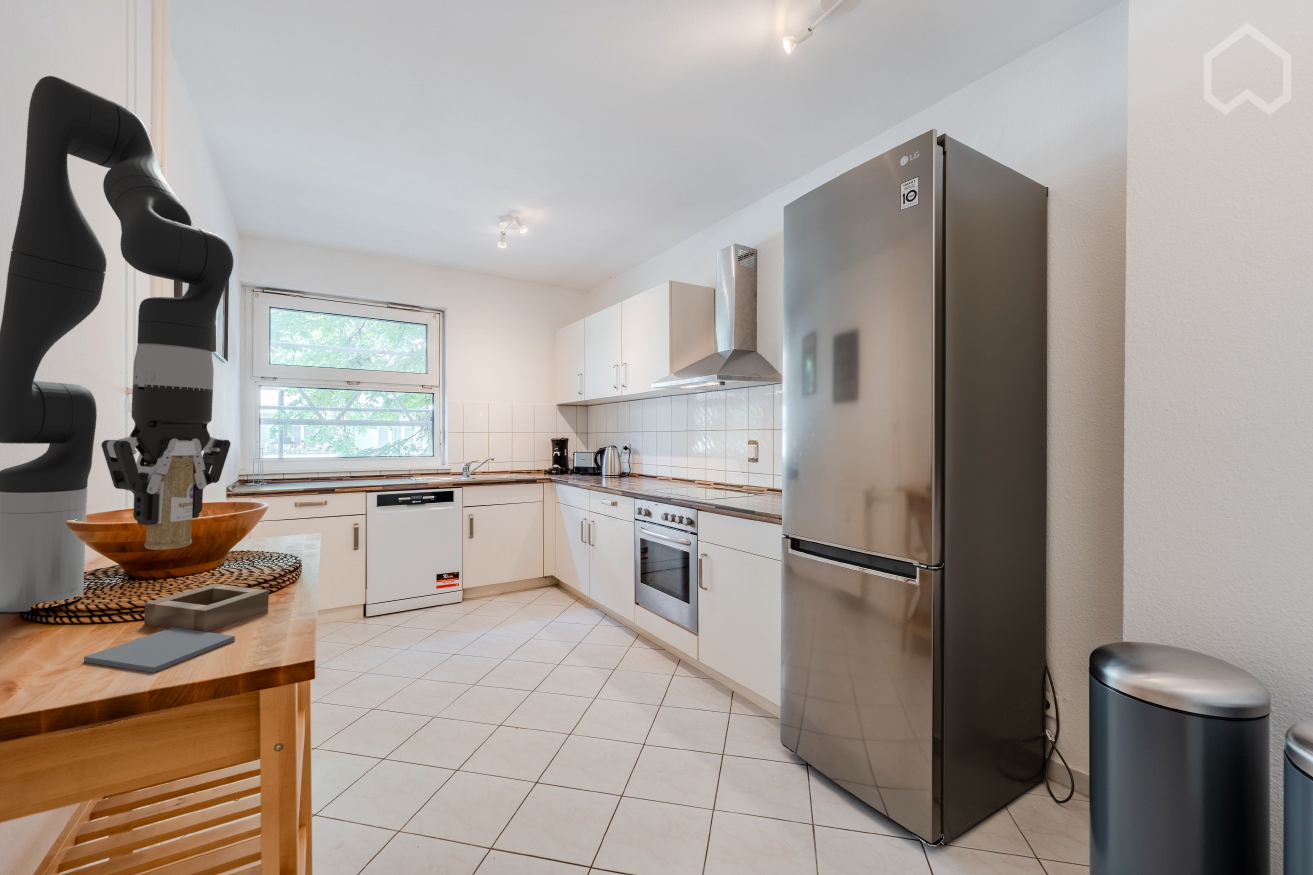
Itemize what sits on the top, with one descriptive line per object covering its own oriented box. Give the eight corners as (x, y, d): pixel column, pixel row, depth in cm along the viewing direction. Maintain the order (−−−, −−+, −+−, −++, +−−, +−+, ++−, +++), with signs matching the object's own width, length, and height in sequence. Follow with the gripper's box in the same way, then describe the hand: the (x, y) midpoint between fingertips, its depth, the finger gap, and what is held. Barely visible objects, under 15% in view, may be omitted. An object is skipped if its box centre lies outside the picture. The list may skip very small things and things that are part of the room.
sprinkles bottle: (193, 548, 69) (197, 440, 68) (143, 552, 65) (148, 440, 65) (190, 541, 72) (194, 439, 72) (142, 545, 69) (147, 438, 68)
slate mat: (83, 661, 65) (84, 656, 65) (172, 631, 74) (172, 627, 74) (153, 672, 63) (153, 667, 63) (234, 640, 73) (234, 635, 73)
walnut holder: (144, 624, 77) (145, 602, 76) (213, 602, 86) (214, 583, 86) (204, 632, 75) (205, 610, 75) (268, 609, 85) (268, 590, 85)
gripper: (205, 388, 76) (200, 511, 76) (81, 377, 62) (75, 528, 62) (251, 390, 75) (246, 515, 75) (135, 380, 61) (129, 533, 61)
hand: (168, 520), depth 69 cm, fingers closed on sprinkles bottle, 4 cm apart
